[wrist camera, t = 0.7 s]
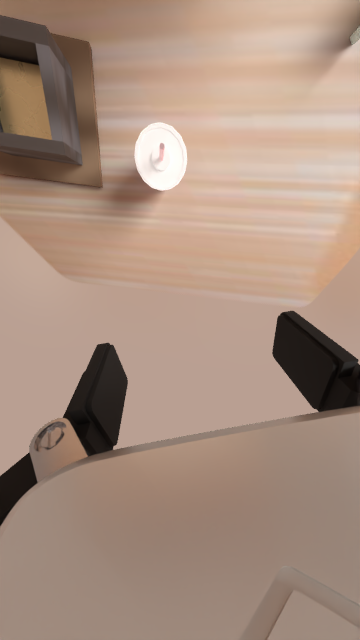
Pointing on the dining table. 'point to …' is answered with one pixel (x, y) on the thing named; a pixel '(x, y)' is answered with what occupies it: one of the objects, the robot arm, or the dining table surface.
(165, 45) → the dining table surface
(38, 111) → the plate
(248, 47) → the dining table surface
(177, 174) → the beverage cup
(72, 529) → the robot arm
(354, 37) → the l-shaped corner panel
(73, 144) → the socket block
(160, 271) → the dining table surface
